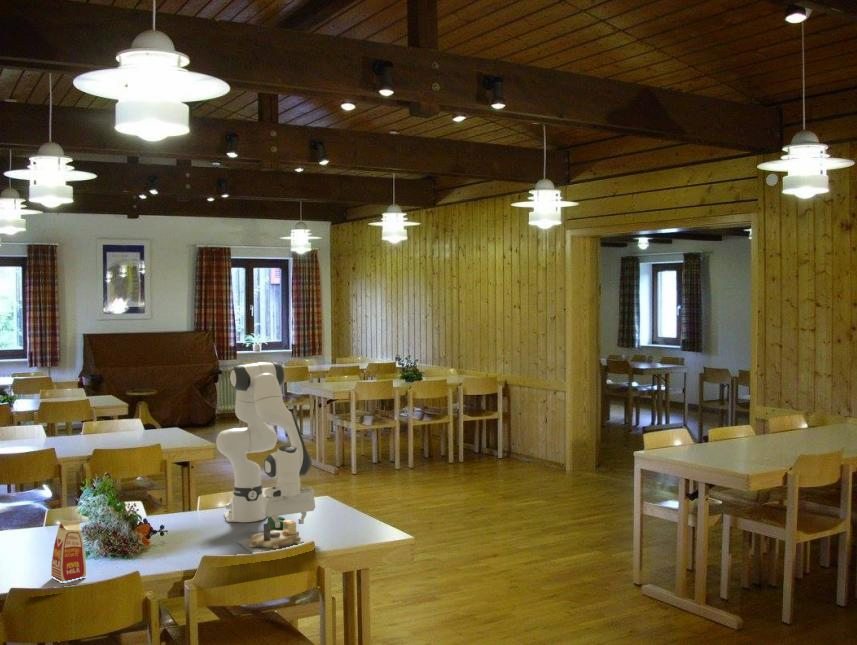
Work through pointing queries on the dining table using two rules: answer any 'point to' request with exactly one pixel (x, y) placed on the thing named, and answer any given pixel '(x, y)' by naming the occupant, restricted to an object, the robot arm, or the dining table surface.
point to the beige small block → (289, 527)
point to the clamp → (272, 523)
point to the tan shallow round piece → (273, 538)
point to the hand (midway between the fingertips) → (289, 525)
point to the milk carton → (68, 552)
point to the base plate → (246, 544)
